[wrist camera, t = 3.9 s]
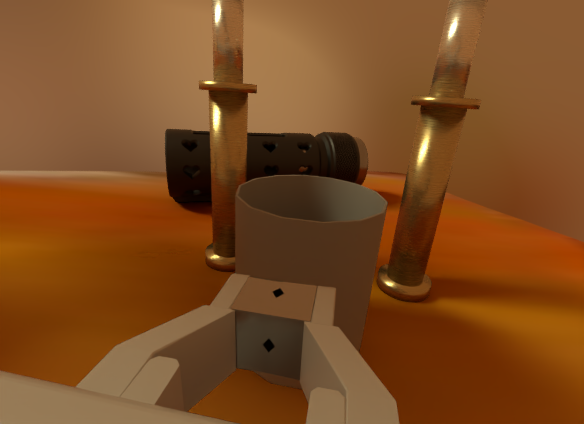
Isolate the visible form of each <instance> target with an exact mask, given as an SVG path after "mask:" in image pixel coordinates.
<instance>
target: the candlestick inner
mask: <svg viewBox="0 0 584 424" xmlns="http://www.w3.org/2000/svg"><path fill="white" fill-rule="evenodd" d="M212 20H213V21H212V24H213V66H214V81H199V89H202V90H209V121H210V157H211V192H212V228H213V243H212V244H210V245H209V246H208V247H207V248H206V250H205V254H206V264H207V265H208V266H209V267H210V268H212V269H214V270H218V271H224V272H231V271H235V195H236V192H237V190H238V187H239V185H241V184H243V183H246V179H247V110H248V101H247V100H248V93H257V85H252V84H243V0H212Z"/></svg>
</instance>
